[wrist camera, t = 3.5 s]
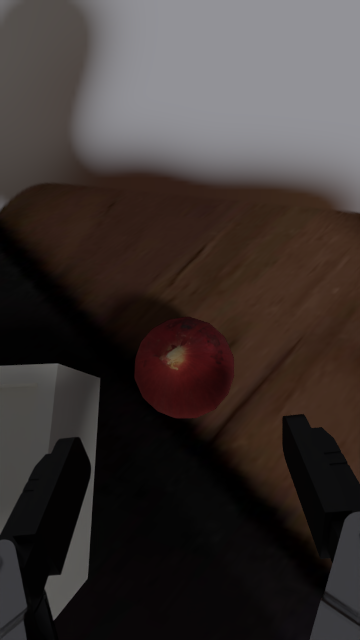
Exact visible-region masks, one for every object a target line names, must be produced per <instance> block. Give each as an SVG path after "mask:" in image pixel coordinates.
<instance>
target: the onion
mask: <svg viewBox="0 0 360 640" xmlns="http://www.w3.org/2000/svg"><path fill="white" fill-rule="evenodd" d="M233 377H234V357H233V354H232V352H231V350H230V348H229V346H228V343H227V341H226V339H225V337H224V336H223V335H222V334H221V333H220V332H218V331H217V330H216V329H215V328H214V327H213V326H212V325H211V324H210V323H207V322H204V321H201V320H198V319H195V318H192V317H183V318H177V319H171V320H167V321H166V322H164V323H162V324H160V325H158V326H156V327H155V328H153V329H152V330H151V331H150V332H149V333H148V334H147V336H146V337H145V338H144V339H143V340H142V341H141V344H140V347H139V350H138V352H137V355H136V359H135V378H134V379H135V381H136V383H137V385H138V387H139V390H140V392H141V394H142V396H143V398H144V399H145V400H146V401H147V402H148V403H149V404H151V405H152V406H153V407H154V408H155V409H156V410H157V411H158V412H161V413H164V414H166V415H169V416H171V417H174V418H197V417H199V416H201V415H204V414H206V413H208V412H210V411H213V410H215V409H216V408H217V406H218V405H219V404H220V403H221V402H222V401H223V399H224V398H225V397H226V396H227V395H228V393H229V390H230V387H231V383H232V380H233Z"/></svg>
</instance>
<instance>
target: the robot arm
mask: <svg viewBox="0 0 360 640" xmlns="http://www.w3.org/2000/svg"><path fill="white" fill-rule="evenodd" d="M283 452H284V456H285V460H286V463H287V466H288V469H289V471H290V474H291V477H292V480H293V483H294V486H295V488H296V491H297V494H298V497H299V500H300V503H301V505H302V508H303V511H304V514H305V517H306V519H307V522H308V525H309V528H310V531H311V534H312V536H313V539H314V542H315V545H316V548H317V551H318V553H319V556H320V559H324V558H331V561H332V563H333V564H332V568H331V572H330V575H329V579H328V583H327V586H326V590H325V593H324V595H323V596H322V599H321V602H320V605H319V608H318V612H317V616H316V619H315V623H314V626H313V630H312V634H311V637H310V640H360V484H359V482H358V480H357V478H356V477H355V475H354V473H353V471H352V470H351V468H350V466H349V465H348V464H347V461H346V459H345V457H344V455H343V454H342V453H341V450H340V448H339V447H338V445H337V443H336V441H335V440H334V438H333V437H332V436H331V435H330V434H329V433H327V432H326V431H325V430H324V429H323V428H322V427H319V428H311V427H310V425H309V423H308V421H307V419H306V417H305V415H304V414H299V415H290V416H283ZM90 477H91V463H90V460H89V458H88V455H87V453H86V451H85V448H84V446H83V443H82V441H81V439H80V438H79V437H71V438H61V439H59V440H58V441H57V442H56V444H55V446H54V448H53V450H52V452H51V454H45V455H44V457H43V458H42V459H41V460H40V461H39V462H38V463H37V464H36V465H35V467H34V469H33V471H32V473H31V475H30V477H29V479H28V482H27V483H26V485H25V487H24V489H23V493H21V495H20V497H19V499H18V500H17V502H16V504H15V506H14V508H13V510H12V512H11V514H10V516H9V518H8V520H7V522H6V524H5V526H4V528H3V530H2V532H1V534H0V640H59V639H58V636H57V632H56V628H55V624H54V620H53V616H52V613H51V609H50V605H49V601H48V597H47V593H46V590H45V585H46V582H47V579H48V576H53V575H61V573H62V569H63V566H64V563H65V560H66V556H67V553H68V550H69V547H70V543H71V540H72V537H73V533H74V530H75V527H76V524H77V520H78V517H79V514H80V510H81V507H82V504H83V501H84V497H85V494H86V491H87V487H88V484H89V481H90Z"/></svg>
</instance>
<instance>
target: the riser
mask: <svg viewBox="0 0 360 640" xmlns="http://www.w3.org/2000/svg"><path fill="white" fill-rule="evenodd" d="M99 391H100V378H98V377H95V376H92V375H90V374H87V373H84V372H81V371H78V370H75V369H72V368H69V367H67V366H64V365H61V364H58V363H57V364H34V365H11V366H0V534H1V532H2V530H3V528H4V526H5V524H6V522H7V520H8V518H9V516H10V514H11V512H12V510H13V508H14V506H15V504H16V502H17V500H18V499H19V497H20V495H21V493H23V489H24V487H25V485H26V483H27V482H28V479H29V477H30V475H31V473H32V471H33V469H34V467H35V465H36V464H37V463H38V462H39V461H40V460H41V459H42V458H43V457H44V455H45V454H51V452H52V450H53V448H54V446H55V444H56V442H57V441H58V440H59V439H61V438H71V437H79V438H80V439H81V441H82V443H83V446H84V448H85V451H86V453H87V455H88V458H89V460H90V463H91V477H90V481H89V484H88V487H87V491H86V494H85V497H84V501H83V504H82V507H81V510H80V514H79V517H78V520H77V524H76V527H75V530H74V533H73V537H72V540H71V543H70V547H69V550H68V553H67V556H66V560H65V563H64V566H63V569H62V573H61V575H53V576H48V579H47V582H46V585H45V590H46V593H47V597H48V601H49V605H50V609H51V613H52V616H53V620H54V619H55V618H56V617H57V616H58V615H59V613H60V612H61V611H62V610H63V608H64V607H65V606H66V605H67V603H68V602H69V601H70V600H71V598H72V597H73V596H74V595H75V593H76V592H77V591H78V590H79V588H80V587H81V586H82V585H83V583H84V582H85V581H86V580H87V579H88V564H89V549H90V533H91V517H92V501H93V485H94V470H95V454H96V438H97V422H98V406H99Z"/></svg>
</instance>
